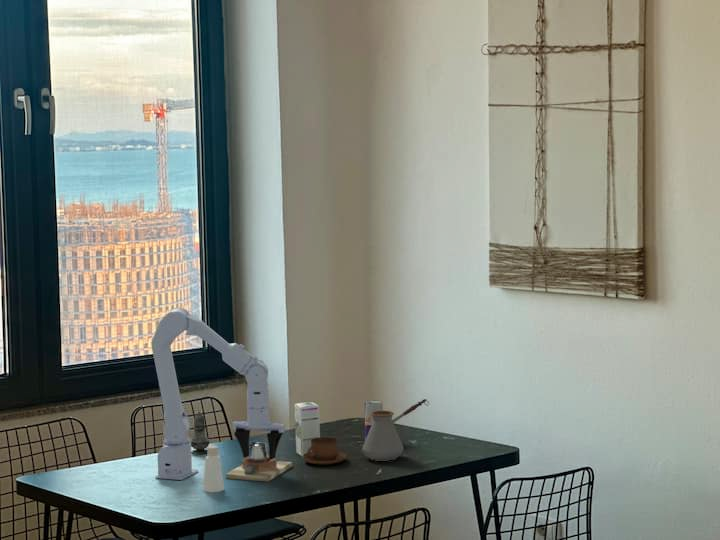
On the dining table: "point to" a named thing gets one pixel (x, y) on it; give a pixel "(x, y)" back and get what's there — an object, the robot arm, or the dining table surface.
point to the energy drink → (369, 408)
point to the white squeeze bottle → (213, 471)
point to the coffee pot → (385, 436)
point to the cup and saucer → (324, 452)
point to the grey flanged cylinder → (199, 436)
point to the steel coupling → (258, 452)
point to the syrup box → (306, 426)
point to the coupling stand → (259, 470)
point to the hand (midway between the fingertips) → (259, 457)
